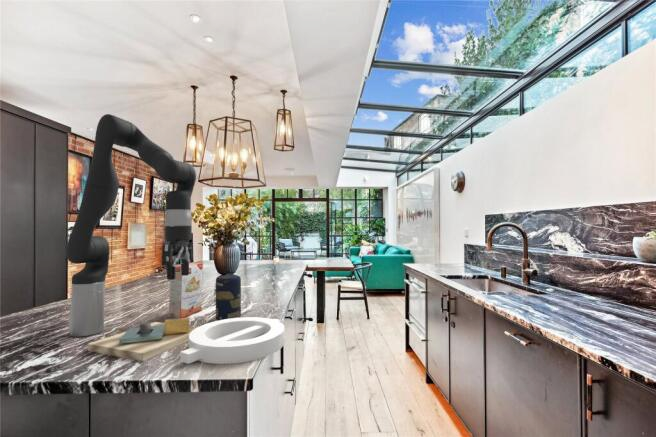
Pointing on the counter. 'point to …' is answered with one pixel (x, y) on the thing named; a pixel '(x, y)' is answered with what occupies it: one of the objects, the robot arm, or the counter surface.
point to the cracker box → (186, 291)
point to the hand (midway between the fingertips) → (178, 277)
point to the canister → (228, 297)
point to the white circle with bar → (234, 340)
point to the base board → (140, 343)
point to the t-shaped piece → (156, 331)
